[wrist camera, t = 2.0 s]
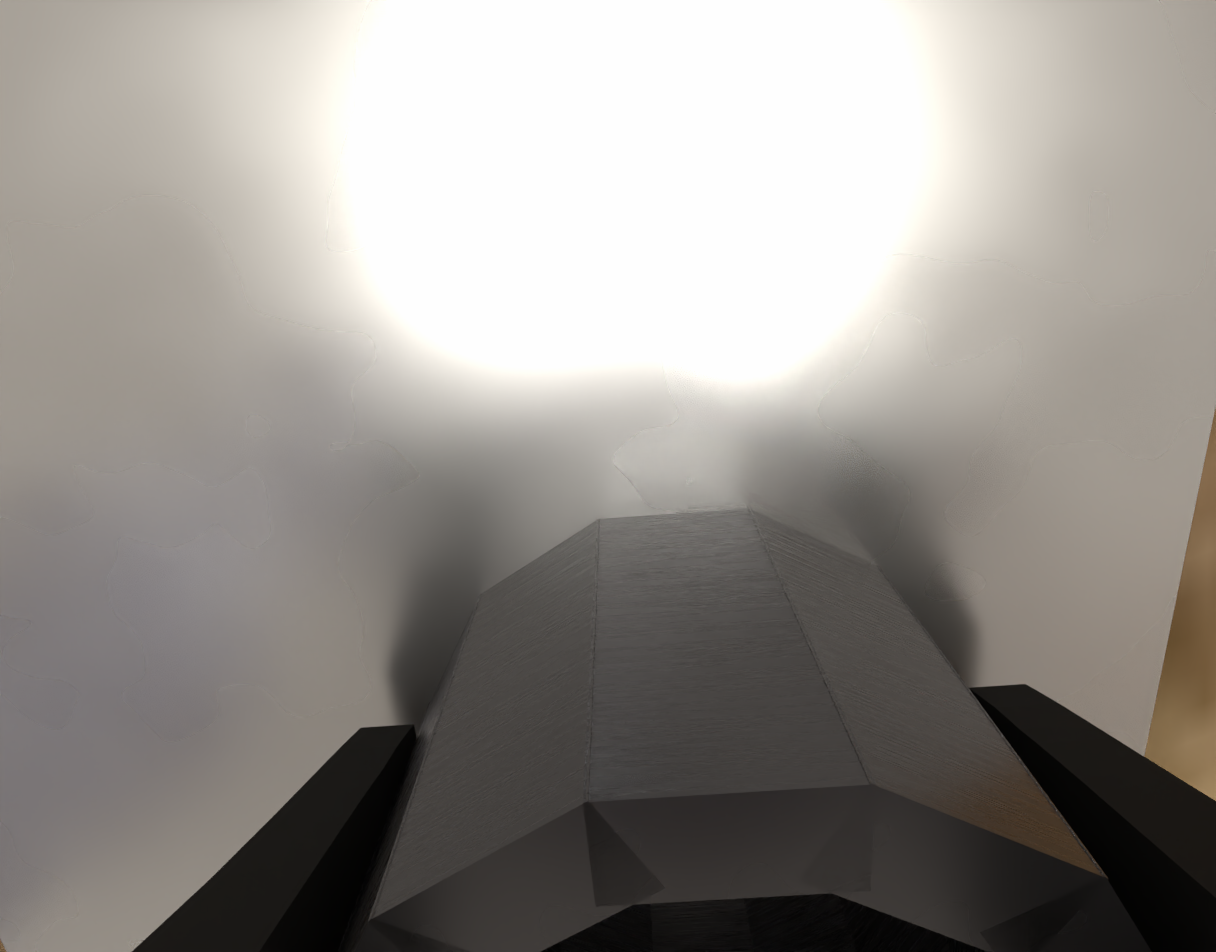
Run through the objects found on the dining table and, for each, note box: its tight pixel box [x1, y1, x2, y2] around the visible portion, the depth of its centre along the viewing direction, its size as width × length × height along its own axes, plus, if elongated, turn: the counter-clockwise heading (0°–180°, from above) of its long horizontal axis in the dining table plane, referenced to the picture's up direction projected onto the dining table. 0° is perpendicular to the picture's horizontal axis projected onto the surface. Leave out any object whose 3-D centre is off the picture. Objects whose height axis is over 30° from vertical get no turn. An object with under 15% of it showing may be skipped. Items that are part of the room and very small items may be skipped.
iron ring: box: [338, 508, 1152, 952], centre depth 7 cm, size 6×6×4 cm
